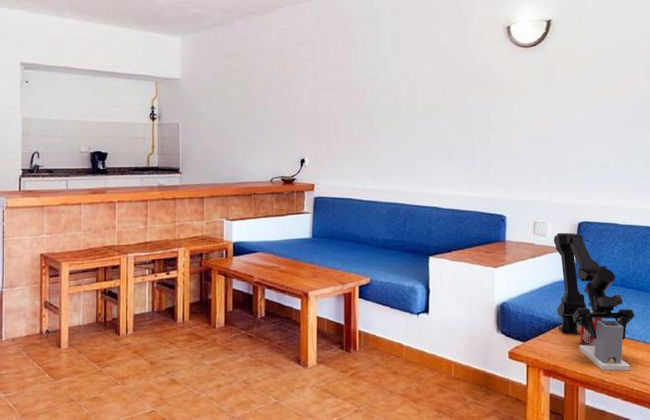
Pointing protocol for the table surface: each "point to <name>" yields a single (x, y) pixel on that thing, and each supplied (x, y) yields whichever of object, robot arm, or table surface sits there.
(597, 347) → the sleeve
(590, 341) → the soda can
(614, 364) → the post board
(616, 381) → the table surface
